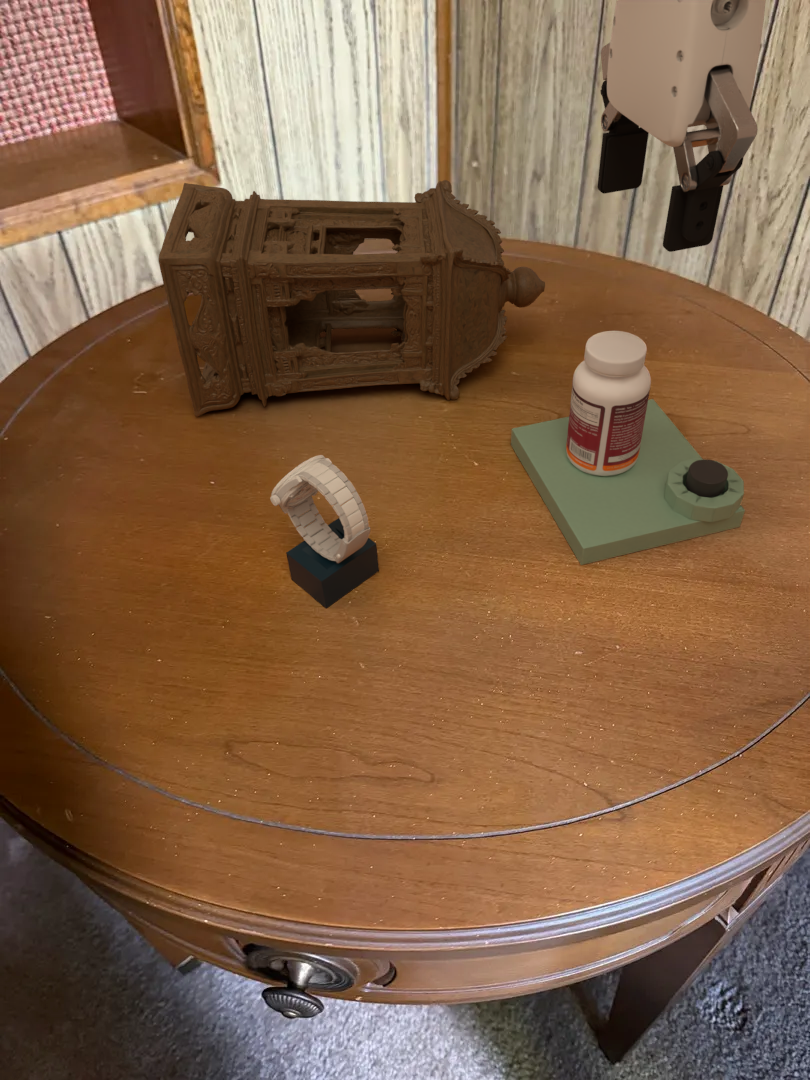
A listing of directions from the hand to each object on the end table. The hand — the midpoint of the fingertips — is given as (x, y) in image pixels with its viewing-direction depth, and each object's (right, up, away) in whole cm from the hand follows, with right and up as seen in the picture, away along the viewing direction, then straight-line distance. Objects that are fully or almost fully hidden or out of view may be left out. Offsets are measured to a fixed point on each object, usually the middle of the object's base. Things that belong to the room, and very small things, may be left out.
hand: (650, 216), depth 58 cm
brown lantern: (-20, -4, +31) cm, 37 cm away
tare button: (+8, -18, +11) cm, 22 cm away
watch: (-22, -25, +10) cm, 35 cm away
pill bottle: (0, -15, +16) cm, 22 cm away
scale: (+2, -17, +16) cm, 24 cm away
